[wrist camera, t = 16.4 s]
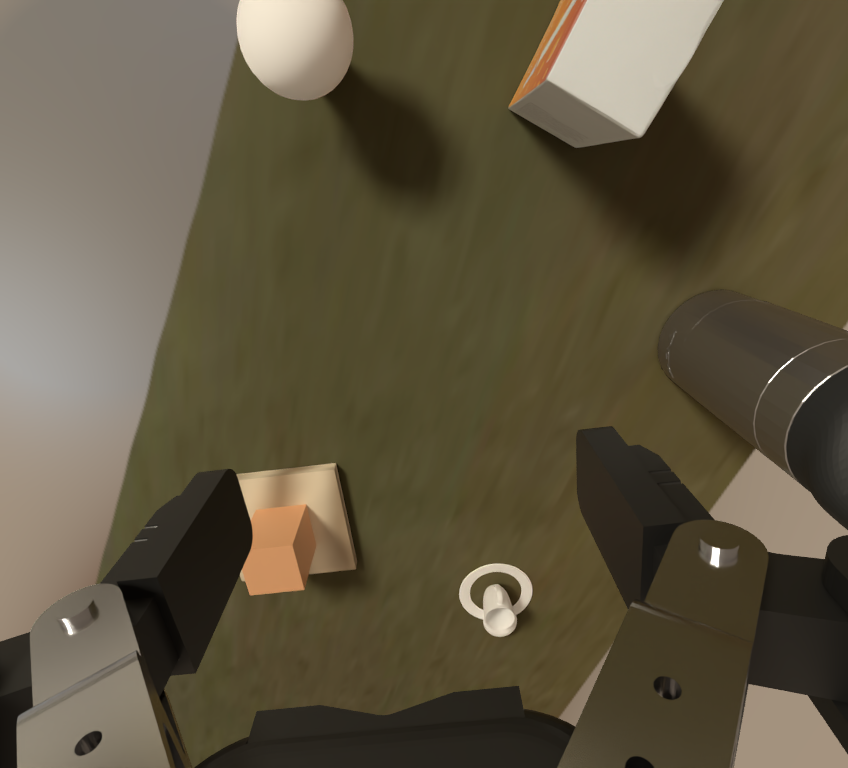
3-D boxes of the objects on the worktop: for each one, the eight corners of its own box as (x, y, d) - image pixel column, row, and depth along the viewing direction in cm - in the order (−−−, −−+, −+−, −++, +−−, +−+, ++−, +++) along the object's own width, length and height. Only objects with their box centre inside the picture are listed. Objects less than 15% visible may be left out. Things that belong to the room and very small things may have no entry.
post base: (336, 463, 50) (327, 493, 45) (357, 561, 54) (351, 598, 49) (214, 476, 50) (193, 508, 45) (245, 573, 55) (228, 611, 50)
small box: (561, -7, 36) (634, -100, 24) (636, 41, 37) (742, -25, 25) (504, 110, 39) (543, 80, 27) (575, 151, 40) (644, 140, 28)
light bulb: (369, 112, 39) (351, 89, 28) (280, 116, 39) (231, 94, 28) (361, 5, 36) (338, -62, 26) (267, 9, 36) (207, -56, 26)
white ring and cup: (511, 629, 59) (518, 660, 55) (446, 612, 58) (448, 643, 54) (543, 571, 56) (552, 600, 52) (474, 552, 55) (478, 580, 51)
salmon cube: (306, 504, 50) (292, 545, 45) (316, 545, 52) (304, 589, 46) (255, 509, 50) (235, 551, 45) (267, 550, 52) (250, 595, 47)
